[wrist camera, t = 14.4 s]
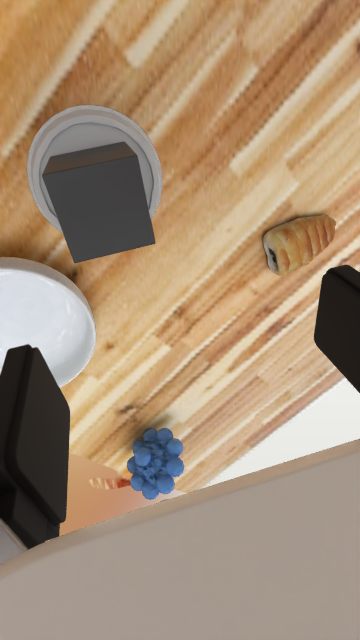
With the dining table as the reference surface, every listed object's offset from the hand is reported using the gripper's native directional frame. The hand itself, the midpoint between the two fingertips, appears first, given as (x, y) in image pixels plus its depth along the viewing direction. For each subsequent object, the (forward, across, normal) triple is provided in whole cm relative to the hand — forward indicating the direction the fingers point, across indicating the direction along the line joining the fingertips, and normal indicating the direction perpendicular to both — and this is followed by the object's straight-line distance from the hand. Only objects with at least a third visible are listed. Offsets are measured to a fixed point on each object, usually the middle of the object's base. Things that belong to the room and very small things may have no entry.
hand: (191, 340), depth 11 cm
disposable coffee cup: (+29, +2, -1) cm, 29 cm away
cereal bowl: (+29, +15, +13) cm, 35 cm away
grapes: (+29, +6, +42) cm, 51 cm away
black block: (+17, +2, -1) cm, 17 cm away
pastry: (+29, -20, +12) cm, 38 cm away
